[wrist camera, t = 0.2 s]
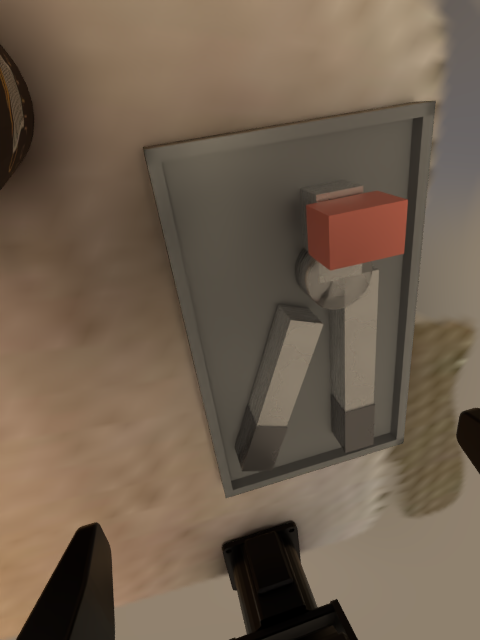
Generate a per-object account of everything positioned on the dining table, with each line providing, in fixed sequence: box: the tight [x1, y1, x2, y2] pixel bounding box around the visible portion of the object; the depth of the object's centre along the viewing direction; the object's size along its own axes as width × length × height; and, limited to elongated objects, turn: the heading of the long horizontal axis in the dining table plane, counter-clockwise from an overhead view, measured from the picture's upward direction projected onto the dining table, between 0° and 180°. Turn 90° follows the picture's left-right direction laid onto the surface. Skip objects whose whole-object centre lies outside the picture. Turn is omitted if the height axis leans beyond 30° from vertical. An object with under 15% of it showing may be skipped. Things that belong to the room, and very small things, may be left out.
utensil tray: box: [143, 101, 436, 498], centre depth 24 cm, size 23×14×2 cm, turn 8°
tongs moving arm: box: [234, 305, 323, 471], centre depth 24 cm, size 11×2×2 cm, turn 166°
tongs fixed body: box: [295, 180, 379, 453], centre depth 23 cm, size 18×4×2 cm, turn 8°
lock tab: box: [306, 191, 408, 271], centre depth 18 cm, size 2×4×2 cm, turn 98°
